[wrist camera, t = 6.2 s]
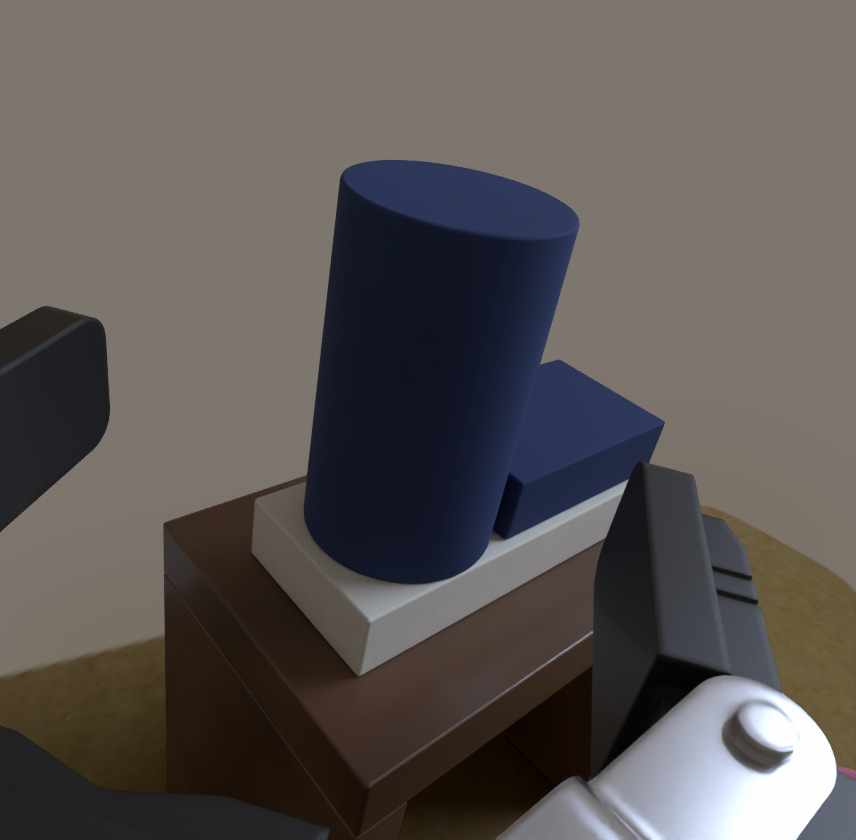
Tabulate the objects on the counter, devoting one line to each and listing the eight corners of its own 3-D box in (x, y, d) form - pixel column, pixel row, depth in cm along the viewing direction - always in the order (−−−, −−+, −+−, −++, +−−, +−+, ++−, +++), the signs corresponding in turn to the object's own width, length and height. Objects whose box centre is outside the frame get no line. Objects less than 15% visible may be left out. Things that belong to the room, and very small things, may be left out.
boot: (357, 679, 18) (439, 249, 12) (250, 552, 21) (276, 160, 16) (634, 522, 26) (764, 210, 20) (526, 445, 29) (611, 155, 23)
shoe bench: (166, 798, 29) (162, 521, 22) (446, 637, 38) (508, 407, 31) (308, 1051, 23) (367, 789, 16) (597, 788, 32) (716, 548, 25)
